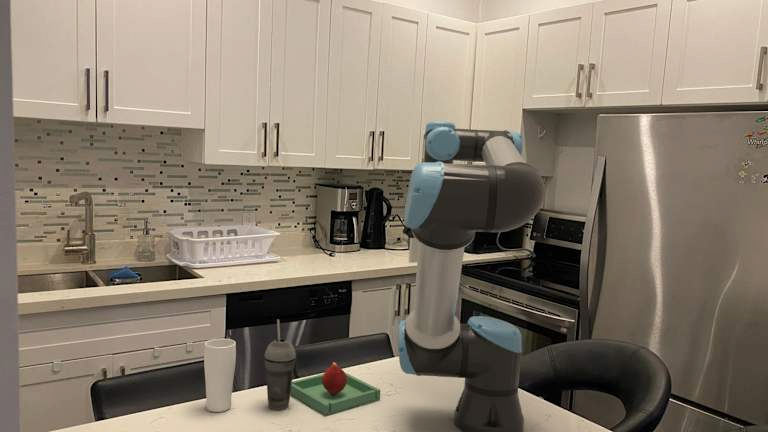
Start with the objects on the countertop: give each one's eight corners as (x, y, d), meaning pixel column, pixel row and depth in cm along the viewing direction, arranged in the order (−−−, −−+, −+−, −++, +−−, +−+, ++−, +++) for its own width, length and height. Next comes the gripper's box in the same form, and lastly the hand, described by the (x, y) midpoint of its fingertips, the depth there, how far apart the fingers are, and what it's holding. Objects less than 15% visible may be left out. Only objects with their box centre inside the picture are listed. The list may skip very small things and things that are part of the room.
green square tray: (379, 399, 144) (380, 389, 144) (325, 416, 133) (325, 405, 133) (339, 379, 156) (339, 370, 156) (286, 392, 145) (286, 382, 145)
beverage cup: (275, 416, 132) (278, 327, 130) (255, 405, 137) (258, 319, 135) (301, 407, 137) (304, 321, 135) (281, 397, 142) (284, 314, 140)
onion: (347, 391, 147) (348, 359, 146) (344, 400, 141) (345, 367, 140) (323, 389, 147) (325, 357, 147) (319, 398, 142) (320, 365, 141)
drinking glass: (217, 417, 130) (219, 349, 129) (196, 408, 134) (197, 343, 132) (240, 407, 136) (242, 342, 134) (219, 399, 139) (221, 336, 138)
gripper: (486, 187, 146) (480, 273, 148) (412, 180, 164) (407, 257, 166) (466, 186, 141) (460, 276, 143) (392, 180, 159) (388, 259, 161)
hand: (432, 266), depth 154 cm, fingers open, 13 cm apart
